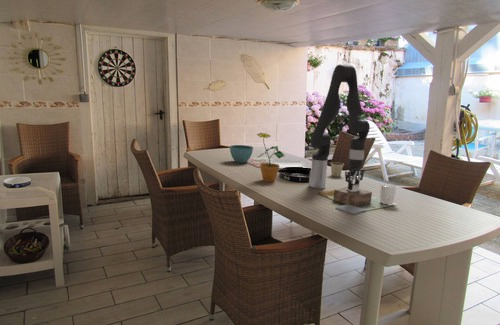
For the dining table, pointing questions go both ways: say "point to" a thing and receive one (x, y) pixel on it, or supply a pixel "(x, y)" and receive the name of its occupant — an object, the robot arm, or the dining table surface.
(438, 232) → the dining table surface
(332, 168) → the flower pot
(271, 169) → the potted plant
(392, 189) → the white cup
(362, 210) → the mat
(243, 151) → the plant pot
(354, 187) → the shiny metal cylinder
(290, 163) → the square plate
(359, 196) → the housing
